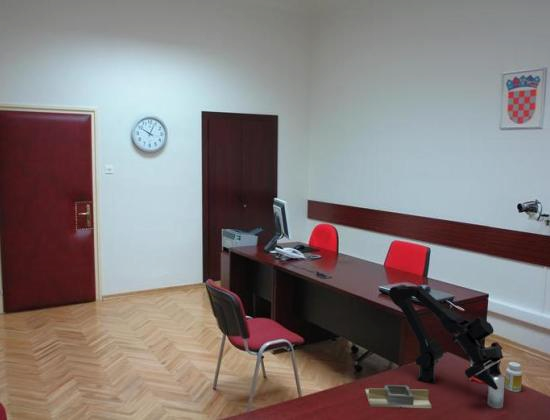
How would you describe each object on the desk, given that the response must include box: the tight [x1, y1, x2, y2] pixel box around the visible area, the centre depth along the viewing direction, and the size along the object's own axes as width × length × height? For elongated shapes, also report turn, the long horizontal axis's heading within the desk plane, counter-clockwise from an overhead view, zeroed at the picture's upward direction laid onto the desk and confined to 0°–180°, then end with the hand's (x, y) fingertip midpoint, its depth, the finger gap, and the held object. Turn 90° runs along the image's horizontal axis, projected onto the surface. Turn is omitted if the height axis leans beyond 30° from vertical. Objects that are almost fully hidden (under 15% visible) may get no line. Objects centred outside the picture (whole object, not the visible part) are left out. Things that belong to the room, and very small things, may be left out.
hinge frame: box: [364, 384, 432, 409], centre depth 173 cm, size 11×21×4 cm, turn 89°
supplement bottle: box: [504, 361, 523, 393], centre depth 182 cm, size 5×5×10 cm
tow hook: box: [467, 360, 486, 385], centre depth 190 cm, size 8×13×9 cm
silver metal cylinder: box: [486, 373, 506, 409], centre depth 170 cm, size 5×5×10 cm
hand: (500, 386), depth 169 cm, fingers closed on silver metal cylinder, 5 cm apart
